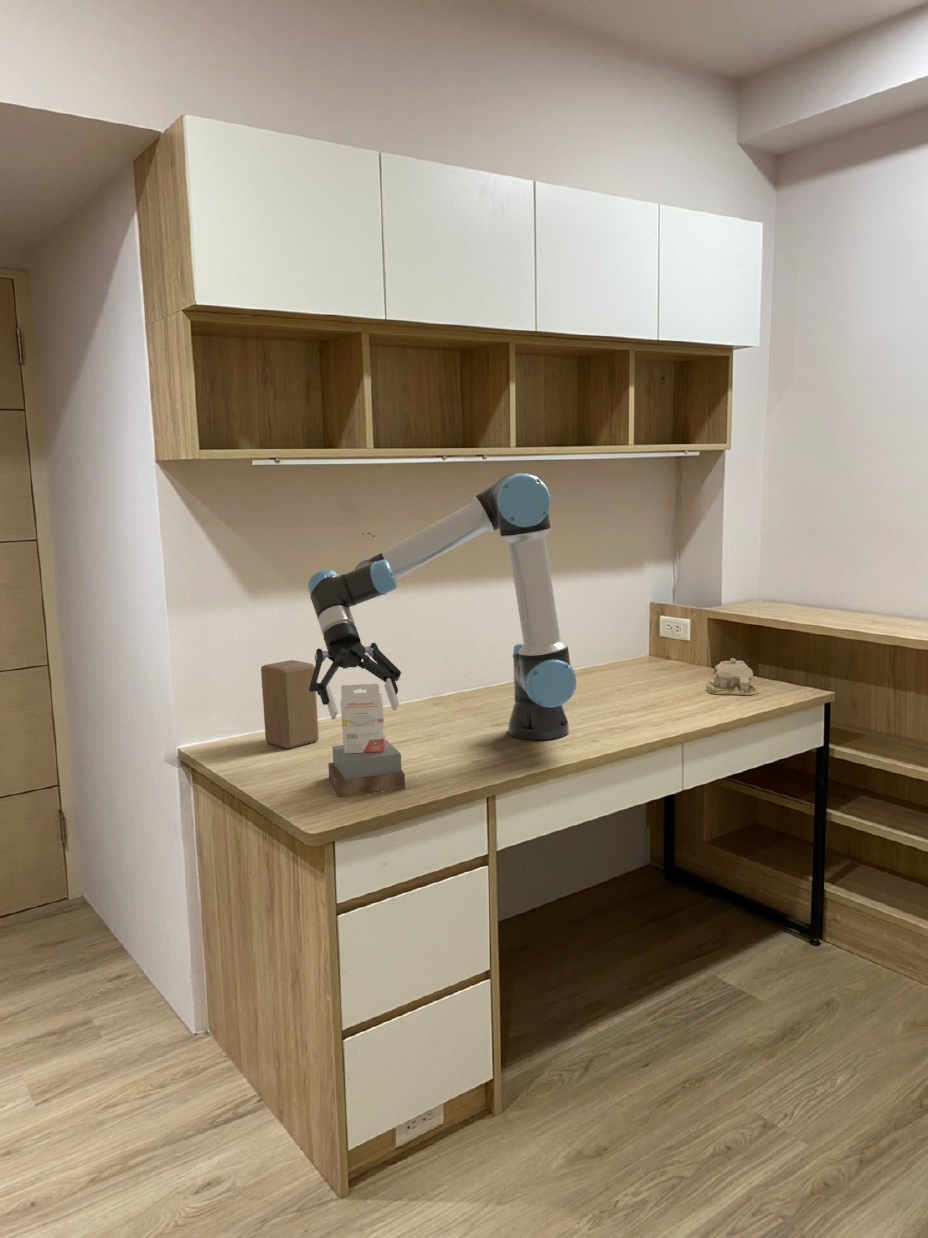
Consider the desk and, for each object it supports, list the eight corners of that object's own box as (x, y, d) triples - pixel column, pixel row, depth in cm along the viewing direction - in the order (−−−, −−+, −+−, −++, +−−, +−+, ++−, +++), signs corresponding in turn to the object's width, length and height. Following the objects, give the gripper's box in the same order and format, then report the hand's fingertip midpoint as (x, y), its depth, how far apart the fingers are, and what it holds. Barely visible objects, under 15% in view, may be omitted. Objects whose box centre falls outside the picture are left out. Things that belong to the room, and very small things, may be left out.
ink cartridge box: (385, 745, 201) (382, 679, 199) (383, 752, 196) (380, 684, 194) (345, 747, 201) (342, 680, 199) (343, 754, 196) (339, 685, 194)
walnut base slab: (391, 773, 209) (391, 755, 208) (405, 792, 195) (404, 773, 195) (329, 780, 205) (328, 762, 204) (338, 800, 192) (337, 781, 191)
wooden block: (264, 743, 234) (259, 665, 231) (297, 735, 241) (292, 658, 238) (286, 750, 227) (281, 669, 224) (320, 741, 234) (316, 663, 231)
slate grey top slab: (386, 757, 207) (386, 739, 206) (401, 772, 196) (400, 753, 195) (333, 764, 203) (332, 746, 203) (345, 779, 192) (344, 761, 191)
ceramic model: (750, 687, 278) (751, 654, 276) (762, 695, 266) (762, 661, 265) (703, 688, 278) (703, 655, 276) (712, 697, 267) (712, 663, 265)
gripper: (388, 636, 215) (416, 713, 204) (281, 647, 204) (305, 729, 193) (395, 615, 209) (424, 693, 198) (286, 626, 199) (310, 709, 188)
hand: (365, 711), depth 196 cm, fingers open, 13 cm apart
